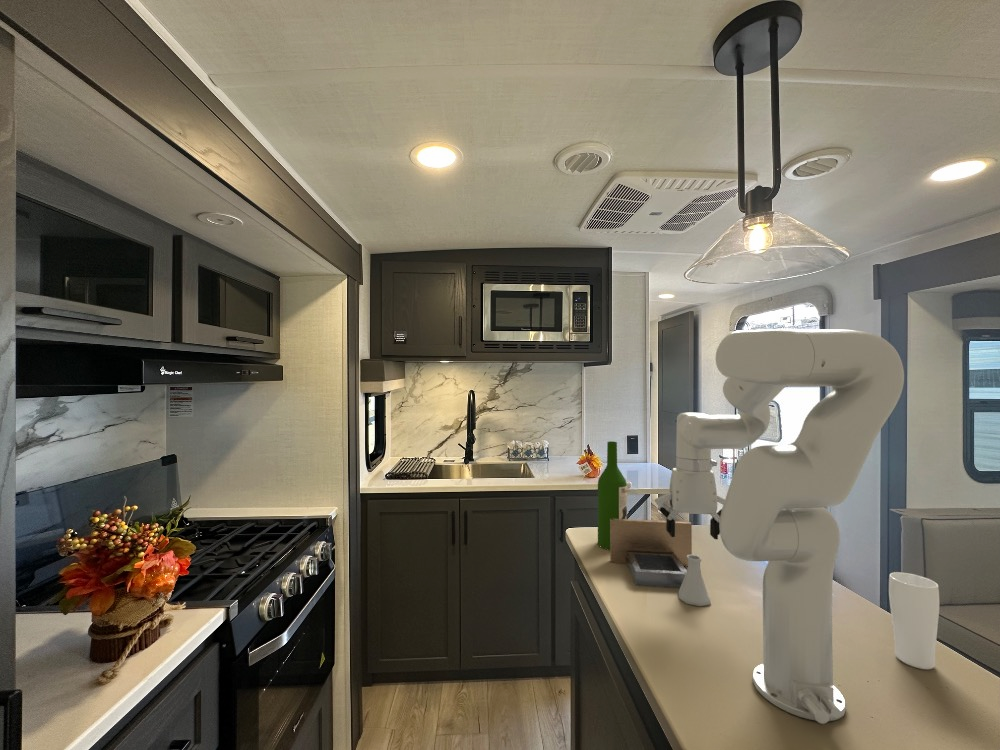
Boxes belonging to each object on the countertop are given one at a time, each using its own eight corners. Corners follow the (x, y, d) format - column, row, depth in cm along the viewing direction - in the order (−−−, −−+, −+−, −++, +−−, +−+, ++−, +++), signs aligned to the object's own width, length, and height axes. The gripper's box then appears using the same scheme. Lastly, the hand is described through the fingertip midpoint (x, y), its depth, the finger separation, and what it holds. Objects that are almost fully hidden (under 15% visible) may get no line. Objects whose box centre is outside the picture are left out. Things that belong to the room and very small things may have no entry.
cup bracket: (708, 589, 109) (708, 541, 109) (617, 584, 111) (617, 536, 112) (690, 564, 124) (690, 522, 124) (610, 560, 127) (610, 518, 127)
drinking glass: (880, 650, 84) (879, 571, 84) (916, 651, 84) (915, 571, 84) (912, 673, 77) (910, 587, 78) (951, 674, 77) (950, 588, 77)
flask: (717, 607, 100) (716, 563, 100) (685, 607, 100) (684, 563, 100) (702, 592, 107) (702, 551, 108) (673, 592, 107) (672, 551, 108)
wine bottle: (621, 552, 132) (621, 444, 133) (593, 546, 137) (593, 442, 138) (630, 544, 140) (630, 441, 140) (603, 538, 145) (603, 439, 145)
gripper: (725, 462, 107) (725, 532, 107) (652, 460, 109) (651, 528, 110) (738, 469, 100) (737, 544, 100) (659, 466, 102) (658, 540, 102)
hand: (692, 536), depth 105 cm, fingers open, 9 cm apart
